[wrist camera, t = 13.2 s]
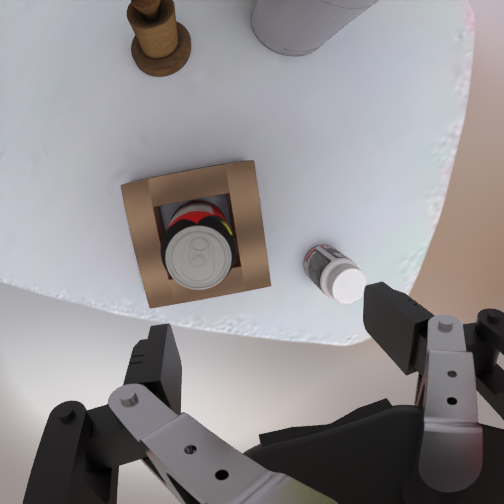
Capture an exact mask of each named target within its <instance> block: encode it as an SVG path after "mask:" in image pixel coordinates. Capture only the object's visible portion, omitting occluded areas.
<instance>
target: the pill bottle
mask: <svg viewBox="0 0 504 504" xmlns="http://www.w3.org/2000/svg"><path fill="white" fill-rule="evenodd" d="M304 269H305V272H306V274H307V276H308V277H309V278H310V279H311V280H312V281H313V282H314V283H315V284H316V285H317V286H318V287H319V288H320V290H321V291H322V292H323V293H324V294H325V295H326V296H328V297H329V298H332V299H335V300H336V301H337V302H339V303H341V304H351V303H354V302H356V301H357V300H358V299H360V297H361V296H362V295H363V293H364V288H365V286H366V285H367V281H366V277H365V275H364V273H363V272H362V271H361V270H359V268H358V267H357V265H356V264H355V263H354V262H353V261H352V260H350V259H349V258H347V257H346V256H344V255H343V254H341V253H340V252H338V251H337V250H335V249H334V248H333V247H331V246H328V245H320V246H317V247H315V248H313V249H312V250H311V251H310V252H309V253H308V254H307V256H306V258H305V262H304Z"/></svg>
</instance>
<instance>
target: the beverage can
mask: <svg viewBox="0 0 504 504" xmlns="http://www.w3.org/2000/svg"><path fill="white" fill-rule="evenodd" d="M236 253H237V249H236V242H235V239H234V236H233V234H232V232H231V230H230V228H229V225H228V223H227V221H226V219H225V217H224V215H223V213H222V212H221V211H220V210H219V209H218V208H217V207H216V206H215V205H213V204H211V203H209V202H205V201H192V202H189V203H186V204H184V205H183V206H181V207H180V208H179V209H178V210H177V211H176V212H175V214H174V215H173V217H172V219H171V221H170V223H169V226H168V228H167V230H166V232H165V234H164V237H163V239H162V242H161V249H160V254H161V260H162V263H163V265H164V268H165V269H166V271H167V273H168V274H169V275H170V276H171V277H172V278H173V279H174V280H175V281H176V282H178V283H179V284H180V285H182V286H184V287H186V288H189V289H194V290H203V289H208V288H211V287H213V286H215V285H217V284H218V283H220V282H221V281H222V280H223V279H224V278H225V277H226V276H227V275H228V274H229V273H230V271H231V269H232V268H233V266H234V263H235V260H236Z"/></svg>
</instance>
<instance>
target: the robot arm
mask: <svg viewBox="0 0 504 504" xmlns="http://www.w3.org/2000/svg"><path fill="white" fill-rule="evenodd" d="M377 1H379V0H257V2H256V5H255V7H254V10H253V12H252V17H251V23H252V28H253V30H254V32H255V34H256V36H257V37H258V39H259V40H260V41H261V42H262V43H263V44H264V45H265V46H267V47H268V48H270V49H271V50H273V51H275V52H278V53H280V54H284V55H289V56H301V55H306V54H309V53H311V52H313V51H315V50H316V49H318V48H319V47H320V46H321V45H322V44H324V43H325V42H326V41H327V40H329V39H330V38H331V37H332V36H333V35H335V34H336V33H337V32H338V31H340V30H341V29H342V28H343V27H345V26H346V25H347V24H348V23H350V22H351V21H352V20H354V19H355V18H356V17H357V16H359V15H360V14H361V13H363V12H364V11H365V10H367V9H368V8H369V7H371V6H372V5H373V4H375V3H376V2H377ZM363 322H364V326H365V329H366V331H367V332H368V333H369V334H370V335H371V337H372V338H373V339H374V340H375V341H376V342H377V343H378V344H379V345H380V347H381V348H382V349H383V350H384V351H385V352H386V353H387V354H388V356H389V357H390V358H391V359H392V360H393V361H394V362H395V363H396V365H397V366H398V367H399V368H400V369H401V370H402V371H403V372H404V374H405V375H409V374H411V373H414V372H416V371H418V372H419V375H418V379H417V387H416V395H415V402H414V405H395V406H392V405H391V404H390V402H389V401H388V399H386V398H385V399H383V400H380V401H377V402H374V403H372V404H369V405H366V406H363V407H360V408H358V409H356V410H354V411H352V412H351V413H349V414H347V415H345V416H344V417H342V418H340V419H338V420H336V421H335V422H333V423H331V424H327V425H317V426H302V427H291V428H286V429H282V430H278V431H273V432H269V433H264V434H259V438H260V444H259V445H257V446H254V447H253V448H251V449H249V450H247V451H246V452H244V453H243V454H242V453H241V452H239V451H238V450H236V449H235V448H233V447H232V446H231V445H229V444H228V443H226V442H225V441H223V440H222V439H220V438H219V437H218V436H216V435H215V434H214V433H212V432H211V431H210V430H208V429H207V428H206V427H204V426H203V425H202V424H200V423H199V422H198V421H196V420H195V419H194V418H192V417H191V416H190V415H189V414H187V413H185V412H183V413H181V382H182V366H181V360H180V356H179V352H178V349H177V346H176V342H175V339H174V335H173V332H172V328H171V326H170V324H162V325H155V326H151V327H150V331H149V336H148V339H144V340H140V341H139V342H138V343H137V344H136V345H135V347H134V348H133V351H132V355H131V358H130V361H129V365H128V369H127V372H126V376H125V380H124V384H123V386H121V387H119V388H117V389H116V390H115V391H113V393H112V394H111V395H110V397H109V399H108V404H107V405H104V406H101V407H97V408H94V409H91V410H86V408H85V407H84V405H83V404H82V403H80V402H78V401H67V402H64V403H61V404H59V405H58V406H57V407H55V408H54V409H53V410H52V411H51V413H50V415H49V418H48V420H47V423H46V426H45V429H44V432H43V435H42V438H41V441H40V444H39V447H38V450H37V453H36V457H35V460H34V463H33V467H32V470H31V474H30V477H29V481H28V485H27V488H26V492H25V496H24V500H23V504H117V486H118V472H119V465H123V464H126V463H129V462H133V461H136V460H139V459H141V461H142V462H143V463H144V464H145V465H146V466H147V467H148V469H149V470H150V471H151V472H152V473H153V474H154V475H155V476H156V477H157V478H158V479H159V480H160V481H161V482H162V483H163V484H164V485H165V486H166V488H168V490H170V492H171V493H172V494H173V495H174V496H175V497H176V498H177V500H178V501H179V502H180V503H181V504H504V429H500V428H496V427H492V426H488V425H484V424H480V423H478V410H477V393H476V390H477V391H478V392H479V393H480V394H481V395H482V396H483V397H484V399H485V400H486V401H487V402H488V403H489V404H490V405H491V406H492V407H493V409H494V410H495V411H496V412H497V413H498V414H499V415H500V416H501V417H502V419H503V420H504V370H503V369H502V368H501V367H500V366H499V365H498V364H496V361H497V358H498V355H499V352H501V353H502V354H503V355H504V313H503V312H502V311H499V310H496V309H484V310H481V311H480V312H479V313H478V316H477V321H476V323H469V324H462V322H461V321H460V320H459V319H457V318H456V317H453V316H450V315H438V316H434V315H433V314H432V313H430V312H429V311H428V310H426V309H425V308H423V306H421V305H420V304H418V303H417V302H416V301H414V300H412V298H410V297H409V296H408V295H406V294H405V293H402V292H399V291H397V290H393V289H392V288H390V287H389V286H388V285H386V284H385V283H384V282H378V283H374V284H370V285H366V286H365V288H364V308H363Z"/></svg>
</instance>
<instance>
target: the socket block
mask: <svg viewBox="0 0 504 504" xmlns="http://www.w3.org/2000/svg"><path fill="white" fill-rule="evenodd" d="M121 190H122V195H123V200H124V205H125V210H126V215H127V220H128V225H129V229H130V234H131V238H132V242H133V246H134V251H135V255H136V259H137V263H138V267H139V271H140V274H141V278H142V282H143V286H144V289H145V293H146V296H147V300H148V304H149V307H150V308H156V307H162V306H167V305H173V304H179V303H185V302H190V301H196V300H201V299H207V298H212V297H218V296H223V295H228V294H234V293H239V292H244V291H249V290H254V289H259V288H264V287H269V286H271V281H270V273H269V266H268V258H267V251H266V243H265V236H264V229H263V221H262V214H261V207H260V199H259V192H258V185H257V178H256V171H255V164H254V160H250V161H240V162H233V163H227V164H221V165H215V166H209V167H203V168H197V169H192V170H186V171H181V172H176V173H171V174H166V175H161V176H156V177H151V178H146V179H142V180H137V181H133V182H129V183H126V184H123V185H121ZM221 194H227V201H228V207H229V213H230V220H231V226H232V232H233V236H234V239H235V242H236V249H237V253H236V260H235V263H234V266H233V268H232V269H231V271H230V273H229V274H228V275H227V276H226V277H225V278H224V279H223V280H222V281H221V282H220V283H218V284H217V285H215V286H213V287H211V288H208V289H203V290H194V289H189V288H186V287H184V286H182V285H180V284H179V283H178V282H176V281H175V280H174V279H173V278H172V277H171V276H170V275H169V274H168V273H167V271H166V269H165V268H164V265H163V263H162V260H161V254H160V249H161V242H162V239H163V237H164V234H165V228H164V223H163V218H162V213H161V208H160V206H162V205H167V204H172V203H177V202H182V201H188V200H193V199H198V198H204V197H209V196H215V195H221Z"/></svg>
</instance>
